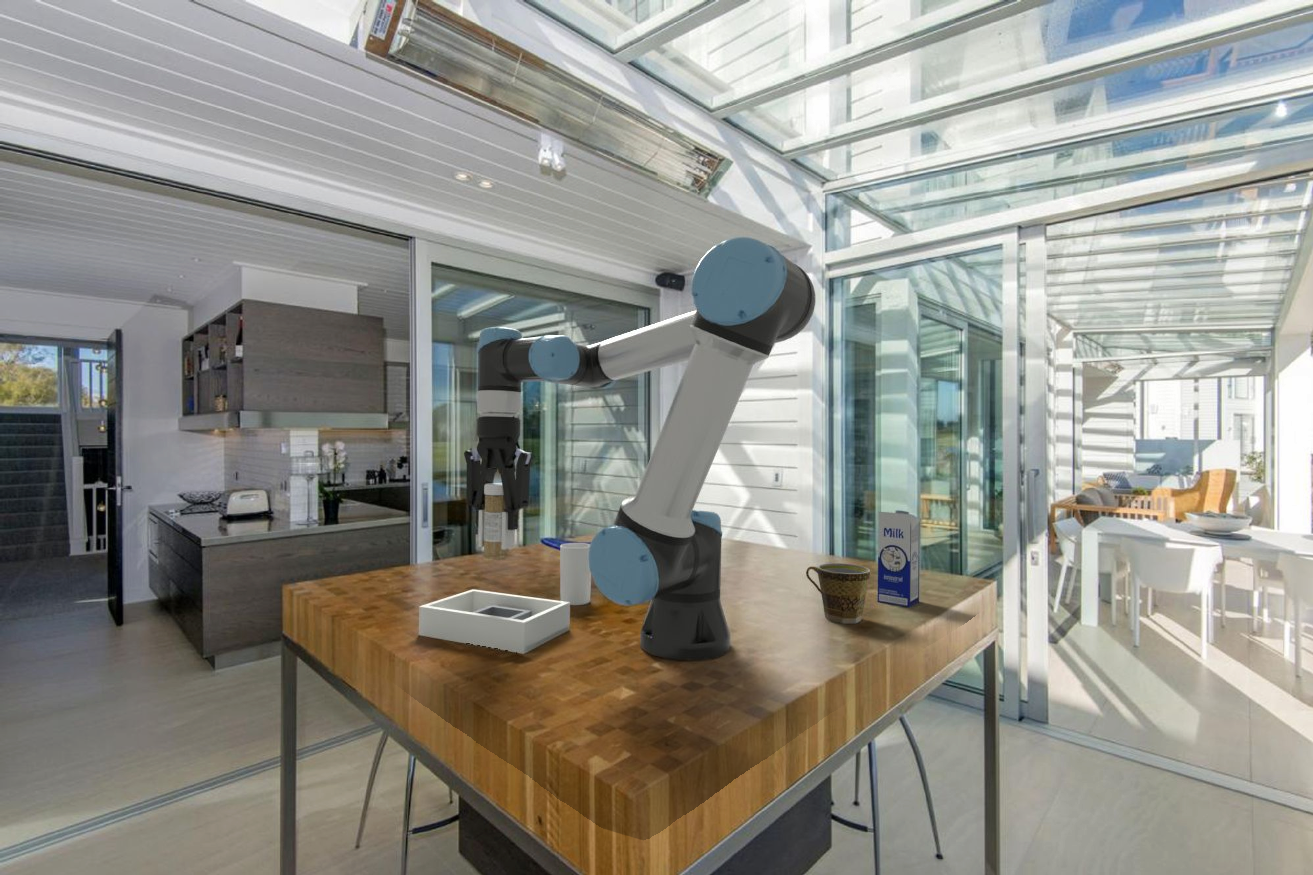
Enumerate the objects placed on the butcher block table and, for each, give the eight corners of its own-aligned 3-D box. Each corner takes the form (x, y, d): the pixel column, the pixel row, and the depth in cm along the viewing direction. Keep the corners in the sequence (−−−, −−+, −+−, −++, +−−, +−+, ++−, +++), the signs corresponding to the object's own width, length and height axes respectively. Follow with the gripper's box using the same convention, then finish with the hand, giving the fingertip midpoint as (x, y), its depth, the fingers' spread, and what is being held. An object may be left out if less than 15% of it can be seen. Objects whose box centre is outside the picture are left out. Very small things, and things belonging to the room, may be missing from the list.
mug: (590, 605, 128) (591, 548, 128) (558, 606, 128) (558, 548, 128) (592, 593, 138) (592, 540, 138) (561, 594, 138) (562, 540, 138)
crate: (569, 629, 112) (569, 602, 112) (523, 653, 99) (524, 622, 99) (472, 614, 120) (472, 589, 120) (418, 635, 107) (419, 606, 107)
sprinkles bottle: (499, 555, 113) (500, 482, 113) (514, 558, 110) (516, 483, 110) (477, 558, 109) (479, 483, 109) (492, 562, 106) (494, 484, 107)
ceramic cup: (877, 618, 122) (878, 568, 122) (856, 629, 114) (857, 575, 114) (817, 606, 130) (817, 559, 130) (793, 616, 123) (794, 565, 123)
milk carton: (876, 601, 135) (877, 510, 135) (887, 596, 140) (888, 508, 140) (909, 607, 130) (910, 513, 130) (919, 601, 135) (920, 510, 136)
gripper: (552, 417, 110) (549, 548, 110) (473, 416, 117) (471, 539, 117) (527, 415, 103) (524, 554, 103) (445, 415, 110) (442, 545, 110)
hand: (496, 546), depth 110 cm, fingers closed on sprinkles bottle, 4 cm apart
